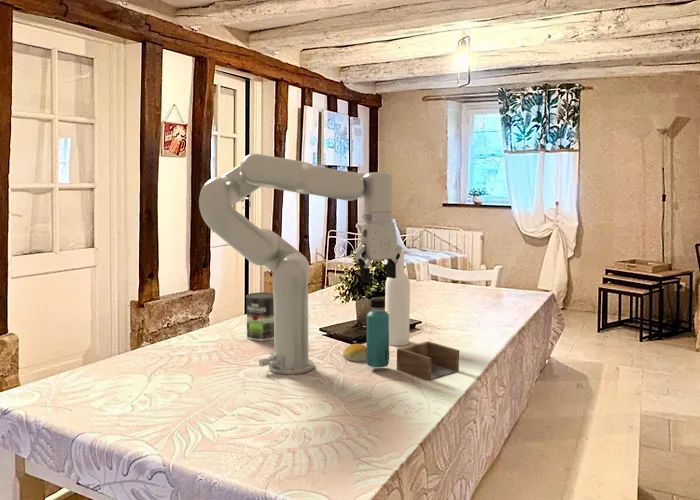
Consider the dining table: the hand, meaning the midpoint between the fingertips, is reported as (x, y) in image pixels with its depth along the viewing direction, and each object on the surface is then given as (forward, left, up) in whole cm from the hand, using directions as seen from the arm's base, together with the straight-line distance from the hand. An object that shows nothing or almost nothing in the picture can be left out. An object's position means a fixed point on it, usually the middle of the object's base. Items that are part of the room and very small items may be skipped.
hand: (378, 279), depth 173 cm
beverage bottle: (-1, -1, -25) cm, 25 cm away
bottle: (+22, +15, -25) cm, 37 cm away
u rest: (+9, -11, -25) cm, 29 cm away
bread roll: (+2, +11, -26) cm, 28 cm away
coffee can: (-8, +48, -25) cm, 55 cm away
